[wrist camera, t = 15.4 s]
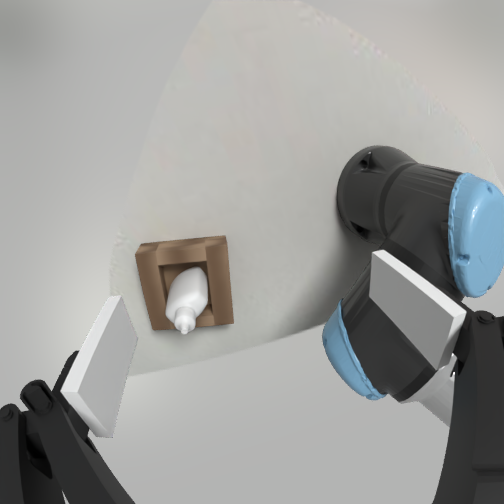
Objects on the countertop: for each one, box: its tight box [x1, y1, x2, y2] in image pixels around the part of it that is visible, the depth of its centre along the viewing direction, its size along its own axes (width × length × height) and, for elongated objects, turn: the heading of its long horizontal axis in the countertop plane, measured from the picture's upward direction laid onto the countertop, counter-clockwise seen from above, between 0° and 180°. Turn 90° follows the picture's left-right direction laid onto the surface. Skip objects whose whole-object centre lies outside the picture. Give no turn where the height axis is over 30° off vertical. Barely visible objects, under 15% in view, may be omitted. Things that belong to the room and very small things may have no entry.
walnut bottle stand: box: [135, 236, 234, 330], centre depth 39 cm, size 12×12×4 cm
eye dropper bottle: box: [166, 267, 208, 334], centre depth 35 cm, size 4×6×12 cm
